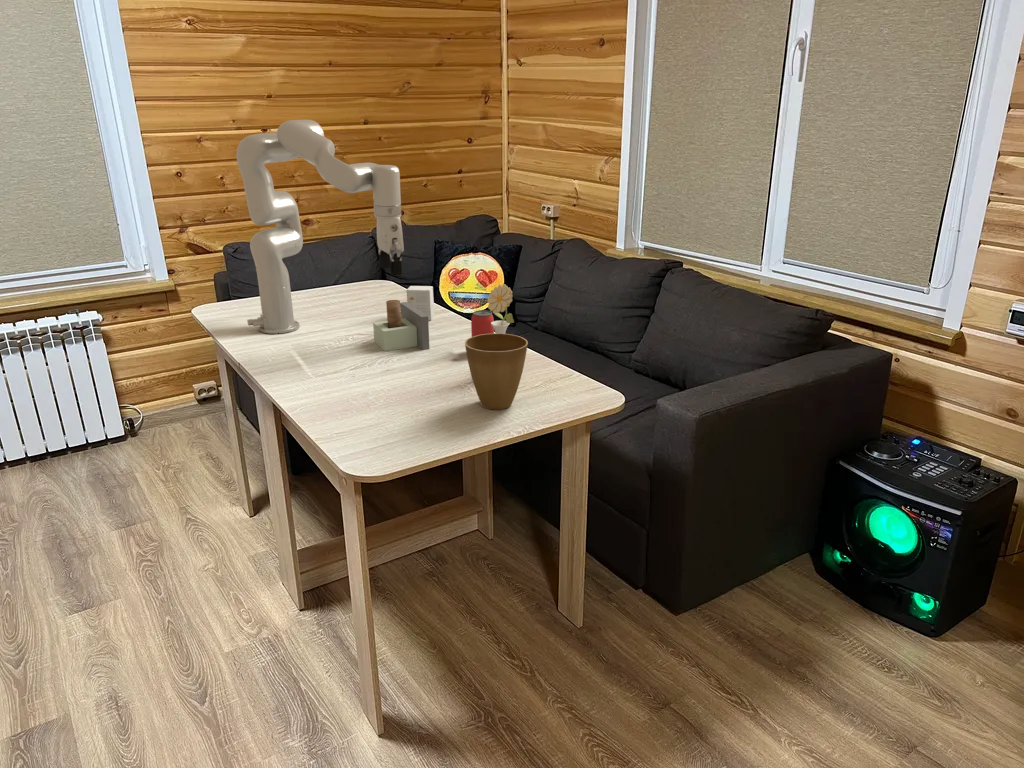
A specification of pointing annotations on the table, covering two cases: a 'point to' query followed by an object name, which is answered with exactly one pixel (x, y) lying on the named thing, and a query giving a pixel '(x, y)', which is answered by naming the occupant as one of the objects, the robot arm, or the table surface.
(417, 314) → the board
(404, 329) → the sage block
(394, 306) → the walnut dowel
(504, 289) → the flower in vase
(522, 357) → the plant pot
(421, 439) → the table surface
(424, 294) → the small box
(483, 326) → the beer can
